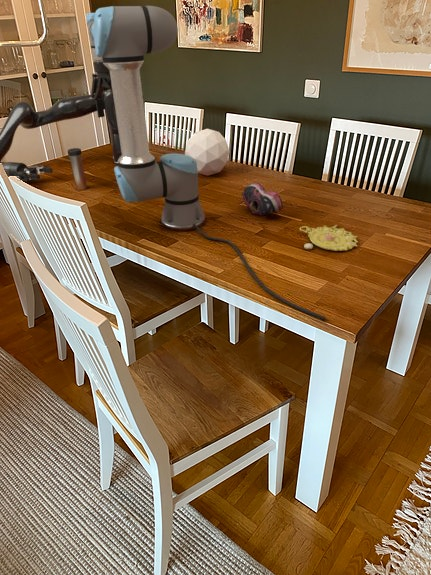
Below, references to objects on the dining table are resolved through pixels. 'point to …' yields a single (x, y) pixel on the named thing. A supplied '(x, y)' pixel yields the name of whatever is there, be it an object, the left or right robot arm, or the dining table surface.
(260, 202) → the athletic shoe
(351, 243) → the decorative object
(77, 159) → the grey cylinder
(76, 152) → the lid
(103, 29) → the right robot arm
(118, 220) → the dining table surface
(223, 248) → the dining table surface
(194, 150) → the sphere
